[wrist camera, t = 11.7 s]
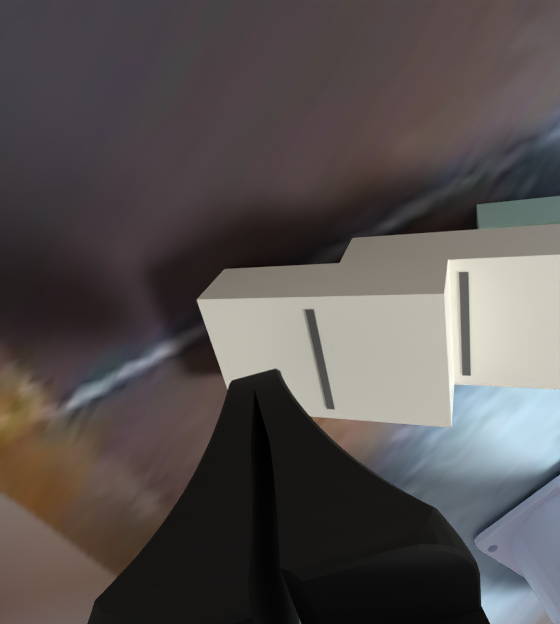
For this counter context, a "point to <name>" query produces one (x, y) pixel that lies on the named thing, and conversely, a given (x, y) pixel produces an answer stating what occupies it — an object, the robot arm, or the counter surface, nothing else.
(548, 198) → the domino
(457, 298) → the domino
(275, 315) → the domino
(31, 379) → the counter surface
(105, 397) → the counter surface
